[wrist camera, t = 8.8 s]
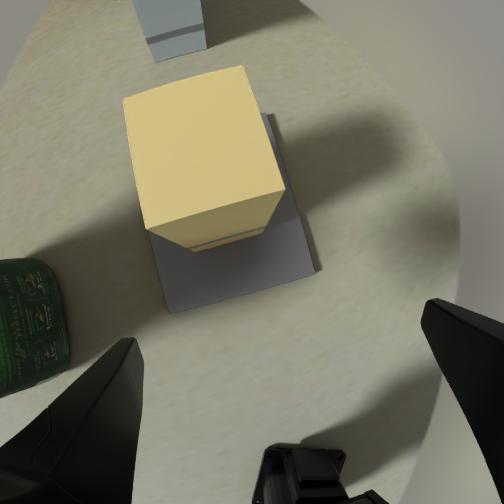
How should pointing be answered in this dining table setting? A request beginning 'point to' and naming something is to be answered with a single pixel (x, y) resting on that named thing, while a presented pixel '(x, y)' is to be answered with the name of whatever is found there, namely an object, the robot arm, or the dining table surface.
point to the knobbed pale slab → (171, 26)
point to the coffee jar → (30, 326)
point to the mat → (236, 257)
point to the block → (202, 160)
